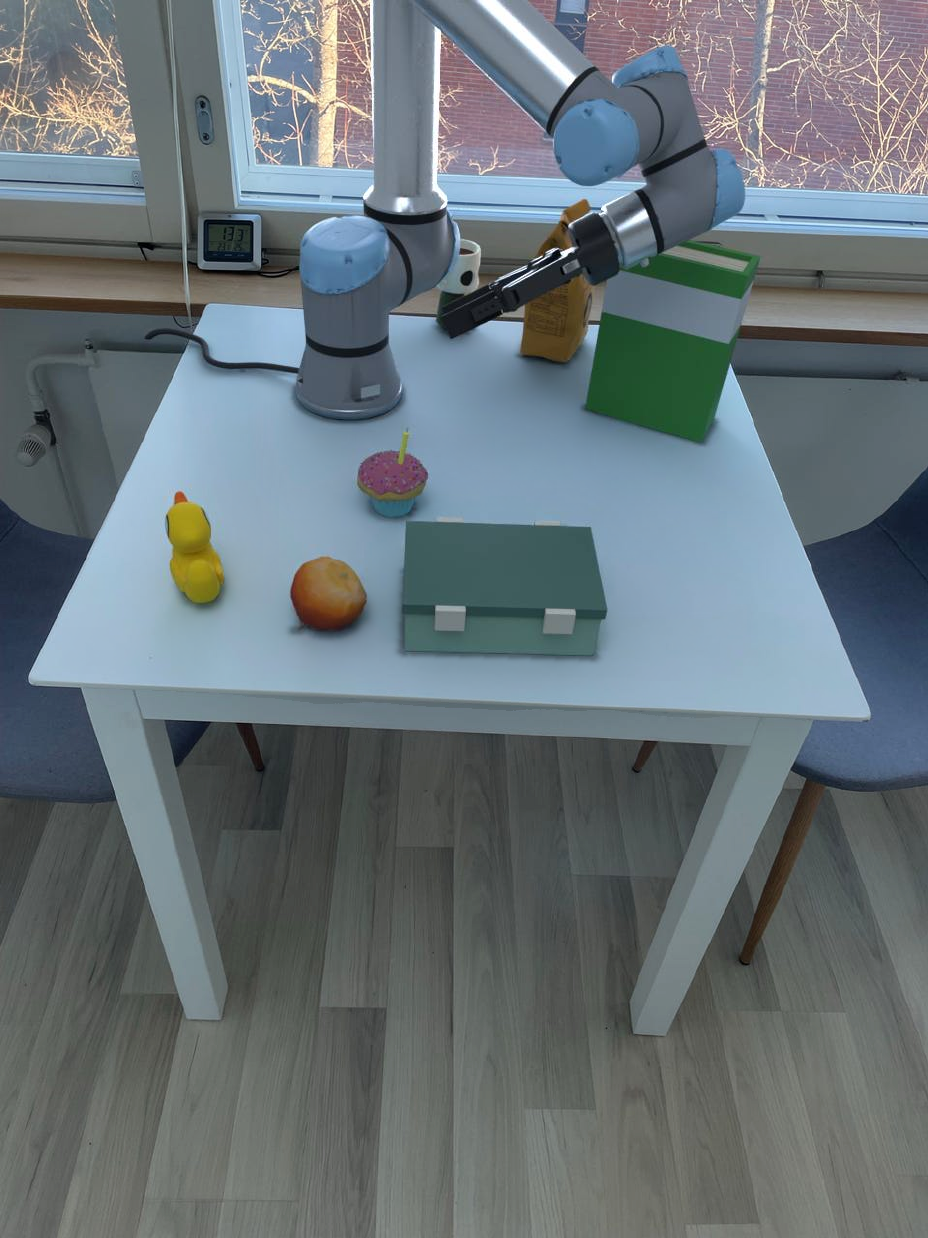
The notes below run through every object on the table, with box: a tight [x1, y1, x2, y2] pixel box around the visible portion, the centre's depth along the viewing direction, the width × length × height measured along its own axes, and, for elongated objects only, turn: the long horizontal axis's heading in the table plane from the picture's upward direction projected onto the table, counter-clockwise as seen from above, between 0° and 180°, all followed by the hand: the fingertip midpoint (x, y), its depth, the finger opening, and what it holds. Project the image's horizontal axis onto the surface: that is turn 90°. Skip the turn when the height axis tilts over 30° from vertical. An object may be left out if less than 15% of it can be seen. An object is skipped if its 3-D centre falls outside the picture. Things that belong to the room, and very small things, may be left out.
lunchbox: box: [401, 516, 608, 657], centre depth 96 cm, size 21×15×7 cm
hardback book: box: [584, 239, 762, 443], centre depth 122 cm, size 18×7×24 cm, turn 64°
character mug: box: [435, 238, 482, 328], centre depth 144 cm, size 11×7×13 cm, turn 148°
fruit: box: [289, 556, 368, 632], centre depth 94 cm, size 8×8×8 cm
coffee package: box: [519, 198, 596, 363], centre depth 137 cm, size 10×12×22 cm
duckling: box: [164, 490, 225, 604], centre depth 95 cm, size 11×5×10 cm, turn 23°
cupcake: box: [356, 426, 429, 518], centre depth 107 cm, size 9×8×12 cm
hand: (445, 322), depth 107 cm, fingers open, 13 cm apart
